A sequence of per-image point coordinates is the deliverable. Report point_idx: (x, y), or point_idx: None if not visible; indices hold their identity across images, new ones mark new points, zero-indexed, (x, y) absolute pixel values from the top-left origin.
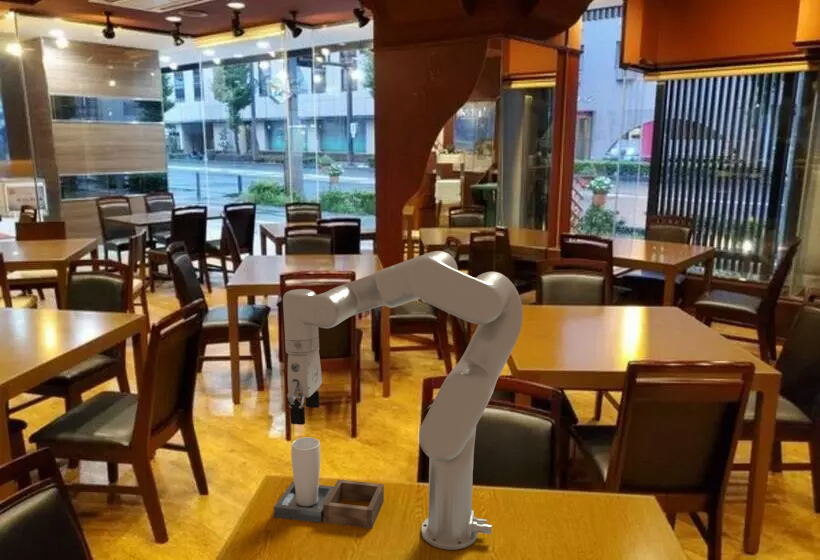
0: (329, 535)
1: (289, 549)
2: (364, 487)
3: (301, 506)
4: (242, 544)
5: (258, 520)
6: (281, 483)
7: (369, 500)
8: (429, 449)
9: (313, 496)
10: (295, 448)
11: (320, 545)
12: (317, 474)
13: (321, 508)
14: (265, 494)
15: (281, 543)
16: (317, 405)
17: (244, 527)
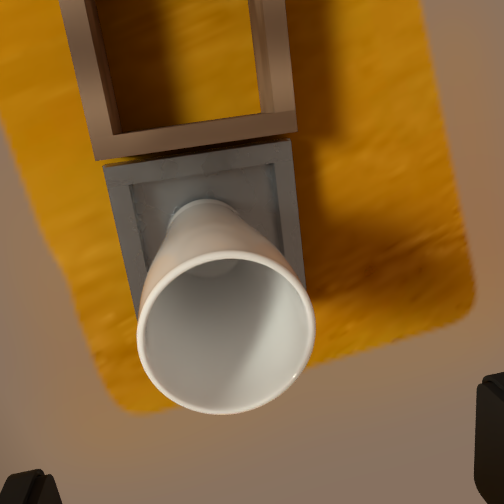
0: (340, 76)
1: (434, 165)
2: (89, 22)
3: None
4: (440, 299)
5: (329, 325)
6: (115, 380)
7: (95, 9)
8: None
9: (228, 207)
10: (308, 357)
11: (396, 81)
12: (221, 214)
13: (267, 150)
14: None
15: (413, 202)
16: (45, 494)
17: (370, 339)
